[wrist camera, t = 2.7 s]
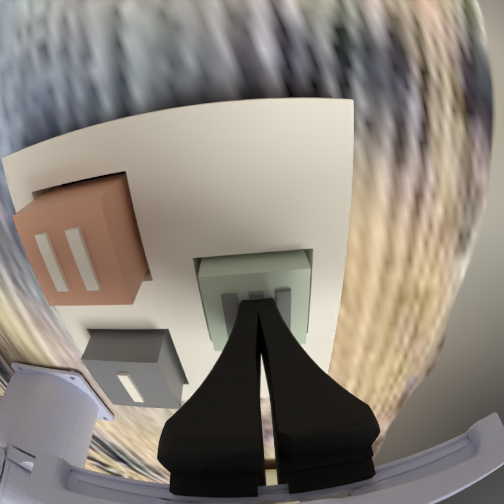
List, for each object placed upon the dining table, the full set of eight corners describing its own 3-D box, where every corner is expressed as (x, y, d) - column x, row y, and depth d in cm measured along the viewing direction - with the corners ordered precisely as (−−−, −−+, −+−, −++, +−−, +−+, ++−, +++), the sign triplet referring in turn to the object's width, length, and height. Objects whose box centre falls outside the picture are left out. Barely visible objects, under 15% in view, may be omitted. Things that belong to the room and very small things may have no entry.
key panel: (118, 370, 20) (110, 395, 18) (30, 145, 11) (1, 158, 9) (317, 362, 20) (323, 390, 18) (332, 97, 11) (353, 99, 9)
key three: (217, 310, 16) (214, 354, 13) (205, 240, 14) (197, 279, 11) (296, 304, 16) (306, 346, 13) (297, 233, 14) (311, 271, 11)
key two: (75, 269, 13) (48, 308, 11) (49, 189, 11) (9, 218, 8) (150, 263, 13) (131, 307, 11) (128, 172, 11) (96, 200, 8)
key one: (123, 367, 17) (112, 406, 15) (98, 320, 15) (79, 361, 12) (185, 369, 17) (179, 411, 15) (167, 319, 15) (156, 366, 12)
